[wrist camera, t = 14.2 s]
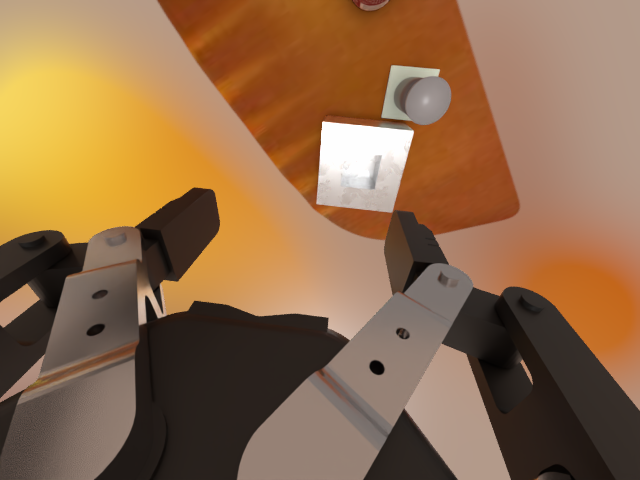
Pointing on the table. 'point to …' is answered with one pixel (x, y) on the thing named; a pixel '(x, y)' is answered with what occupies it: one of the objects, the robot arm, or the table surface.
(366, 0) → the soda can
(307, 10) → the table surface
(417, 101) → the gray cylinder
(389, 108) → the mat
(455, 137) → the table surface
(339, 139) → the housing
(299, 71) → the table surface
